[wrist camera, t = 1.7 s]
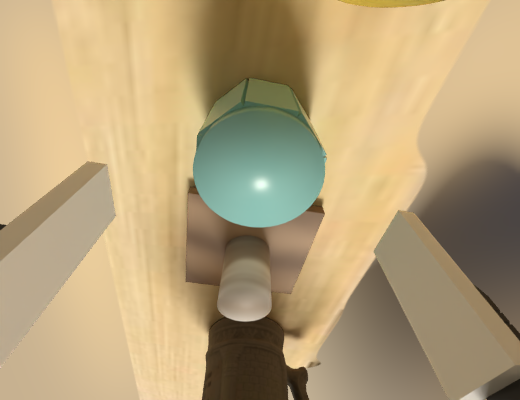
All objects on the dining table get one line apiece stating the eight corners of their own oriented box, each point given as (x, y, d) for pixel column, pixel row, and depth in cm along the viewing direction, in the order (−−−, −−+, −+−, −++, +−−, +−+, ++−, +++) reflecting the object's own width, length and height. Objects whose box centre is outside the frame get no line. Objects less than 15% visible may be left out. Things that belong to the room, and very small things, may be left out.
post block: (190, 186, 22) (166, 244, 17) (322, 207, 24) (342, 267, 18) (187, 274, 29) (169, 336, 23) (290, 286, 30) (296, 348, 25)
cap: (216, 70, 17) (194, 97, 11) (319, 91, 18) (346, 125, 12) (209, 164, 21) (190, 219, 15) (293, 178, 22) (304, 235, 16)
